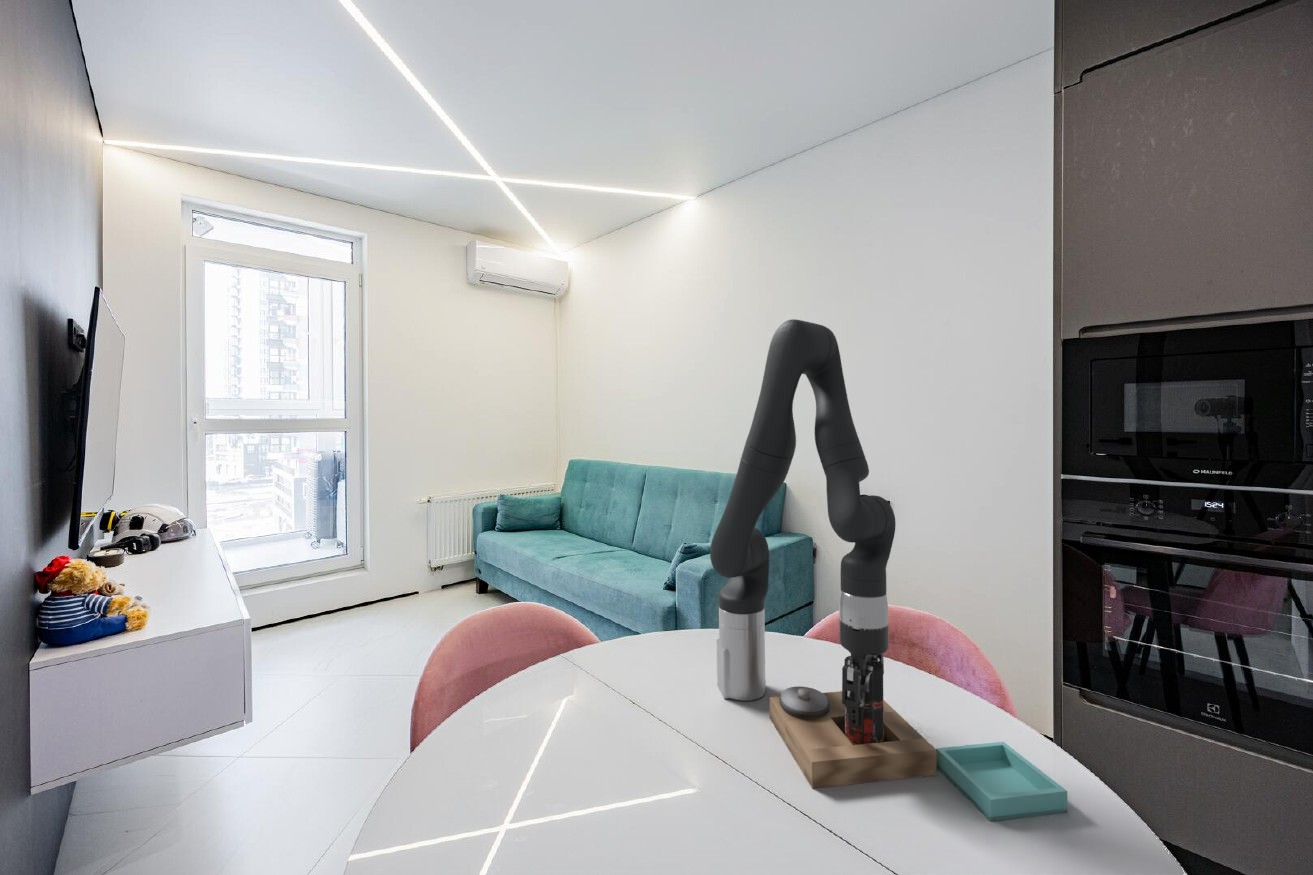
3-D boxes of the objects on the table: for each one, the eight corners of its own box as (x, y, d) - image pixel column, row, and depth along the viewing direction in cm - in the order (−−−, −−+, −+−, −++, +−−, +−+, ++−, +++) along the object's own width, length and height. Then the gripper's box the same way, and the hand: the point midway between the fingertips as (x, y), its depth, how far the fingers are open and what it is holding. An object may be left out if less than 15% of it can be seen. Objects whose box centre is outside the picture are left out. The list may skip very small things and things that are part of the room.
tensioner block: (812, 788, 80) (811, 743, 80) (769, 717, 99) (768, 681, 99) (936, 775, 82) (936, 731, 82) (871, 708, 102) (870, 673, 101)
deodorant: (839, 742, 91) (838, 655, 91) (872, 740, 92) (872, 653, 91) (855, 764, 85) (854, 671, 85) (890, 762, 86) (890, 669, 85)
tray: (990, 821, 73) (990, 799, 73) (936, 766, 84) (936, 748, 84) (1067, 812, 74) (1067, 790, 74) (1003, 759, 86) (1003, 741, 86)
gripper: (854, 601, 96) (855, 691, 96) (825, 626, 84) (826, 727, 85) (899, 610, 91) (899, 704, 91) (874, 637, 80) (875, 744, 80)
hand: (864, 715), depth 88 cm, fingers open, 8 cm apart
